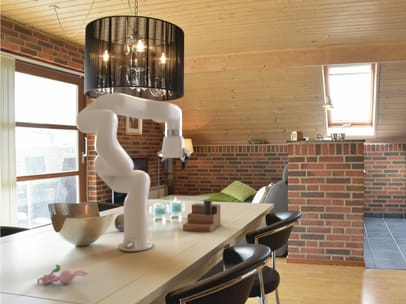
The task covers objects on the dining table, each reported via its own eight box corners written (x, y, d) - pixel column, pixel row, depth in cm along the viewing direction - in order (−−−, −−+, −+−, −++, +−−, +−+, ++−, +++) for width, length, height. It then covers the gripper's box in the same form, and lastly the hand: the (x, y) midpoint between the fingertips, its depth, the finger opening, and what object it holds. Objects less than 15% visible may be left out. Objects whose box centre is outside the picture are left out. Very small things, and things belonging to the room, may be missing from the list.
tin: (117, 232, 168) (117, 215, 168) (113, 231, 170) (113, 214, 170) (143, 227, 180) (142, 210, 180) (139, 226, 182) (139, 210, 182)
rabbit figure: (34, 291, 102) (82, 284, 100) (31, 271, 102) (78, 263, 100) (48, 283, 108) (93, 276, 106) (45, 264, 108) (90, 257, 106)
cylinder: (210, 215, 174) (210, 201, 174) (202, 214, 175) (202, 200, 175) (212, 213, 178) (212, 200, 177) (205, 213, 179) (205, 199, 179)
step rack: (209, 232, 167) (209, 209, 167) (182, 230, 171) (182, 208, 171) (220, 224, 183) (220, 204, 183) (195, 223, 187) (195, 203, 187)
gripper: (153, 134, 163) (153, 170, 163) (187, 133, 158) (187, 170, 158) (161, 134, 170) (161, 169, 170) (193, 133, 166) (194, 169, 166)
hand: (174, 170), depth 164 cm, fingers open, 9 cm apart
